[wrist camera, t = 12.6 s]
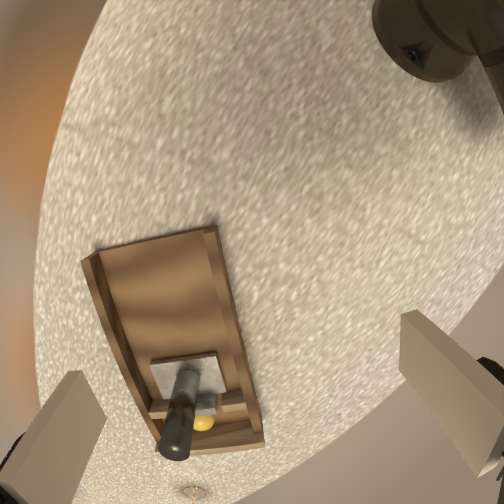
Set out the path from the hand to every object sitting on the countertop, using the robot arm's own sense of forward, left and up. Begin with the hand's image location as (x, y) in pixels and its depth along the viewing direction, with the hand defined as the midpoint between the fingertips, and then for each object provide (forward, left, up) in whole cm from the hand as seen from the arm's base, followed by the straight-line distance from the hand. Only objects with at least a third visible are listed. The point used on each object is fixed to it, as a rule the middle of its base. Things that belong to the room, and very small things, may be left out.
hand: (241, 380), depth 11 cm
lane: (+13, -10, -27) cm, 31 cm away
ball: (+25, -10, -23) cm, 35 cm away
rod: (+17, -10, -25) cm, 32 cm away
